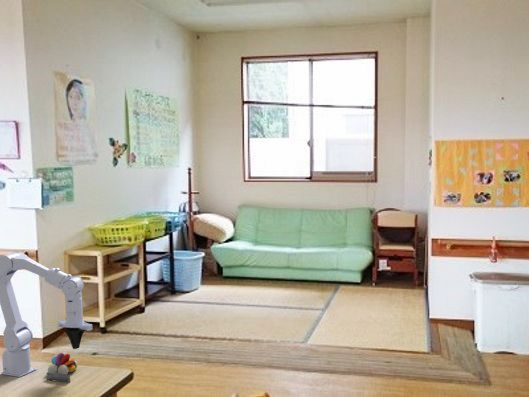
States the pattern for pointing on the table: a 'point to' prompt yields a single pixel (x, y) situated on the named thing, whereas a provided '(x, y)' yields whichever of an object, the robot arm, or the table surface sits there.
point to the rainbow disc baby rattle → (62, 364)
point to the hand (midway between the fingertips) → (76, 348)
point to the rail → (58, 377)
